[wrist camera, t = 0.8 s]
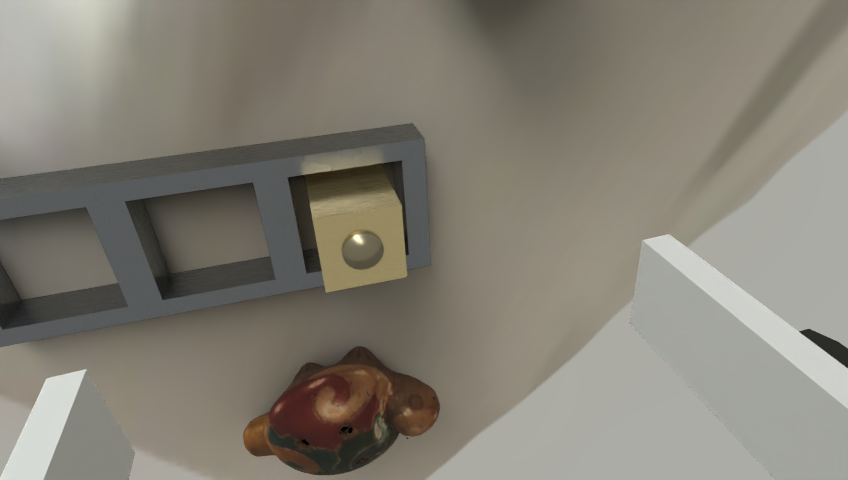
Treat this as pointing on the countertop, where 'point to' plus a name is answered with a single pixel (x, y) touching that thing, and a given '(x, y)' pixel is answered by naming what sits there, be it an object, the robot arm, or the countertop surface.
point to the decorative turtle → (342, 415)
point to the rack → (133, 181)
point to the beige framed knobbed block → (357, 226)
